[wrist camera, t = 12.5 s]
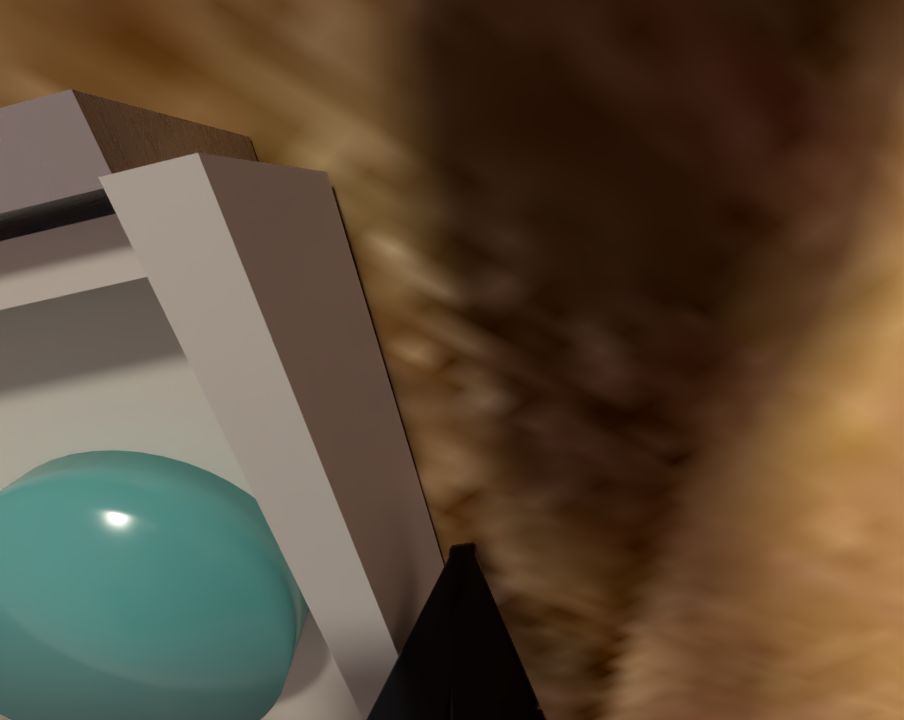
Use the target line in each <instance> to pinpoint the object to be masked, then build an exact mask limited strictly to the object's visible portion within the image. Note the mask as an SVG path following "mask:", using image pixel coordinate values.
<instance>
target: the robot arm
mask: <svg viewBox="0 0 904 720" xmlns="http://www.w3.org/2000/svg"><path fill="white" fill-rule="evenodd" d="M366 720H546V718H545V716H544V713H543V711H542V710H541V709H540V705H539V702H538V700H537V698H536V695H535V693H534V691H533V688H532V686H531V684H530V681H529V679H528V677H527V674H526V672H525V670H524V667H523V665H522V663H521V661H520V658H519V656H518V654H517V651H516V649H515V647H514V644H513V642H512V640H511V637H510V635H509V633H508V630H507V628H506V626H505V623H504V621H503V619H502V616H501V614H500V612H499V610H498V607H497V605H496V603H495V600H494V598H493V596H492V593H491V591H490V589H489V586H488V584H487V582H486V579H485V577H484V572H483V568H482V565H481V561H480V557H479V553H478V550H477V546H476V544H475V543H473V542H471V543H464V544H457V545H452V546H451V547H450V549H449V557H448V560H447V562H446V564H445V566H444V568H443V570H442V572H441V574H440V576H439V578H438V580H437V582H436V583H435V585H434V587H433V589H432V591H431V593H430V595H429V597H428V599H427V601H426V603H425V605H424V607H423V609H422V611H421V613H420V615H419V617H418V619H417V621H416V623H415V625H414V627H413V629H412V631H411V633H410V635H409V637H408V639H407V641H406V643H405V644H404V646H403V648H402V650H401V652H400V654H399V656H398V658H397V660H396V662H395V664H394V666H393V668H392V670H391V672H390V674H389V676H388V678H387V680H386V682H385V684H384V686H383V688H382V690H381V692H380V694H379V696H378V698H377V700H376V702H375V704H374V705H373V707H372V709H371V711H370V713H369V715H368V717H367V719H366Z"/></svg>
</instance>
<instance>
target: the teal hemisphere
mask: <svg viewBox="0 0 904 720" xmlns="http://www.w3.org/2000/svg"><path fill="white" fill-rule="evenodd" d="M308 612H309V607H308V605H307V603H306V601H305V599H304V597H303V594H302V592H301V590H300V588H299V586H298V584H297V582H296V580H295V578H294V576H293V574H292V572H291V570H290V568H289V566H288V564H287V562H286V560H285V558H284V556H283V554H282V552H281V550H280V547H279V545H278V543H277V541H276V539H275V537H274V535H273V533H272V531H271V529H270V527H269V525H268V523H267V521H266V519H265V517H264V515H263V513H262V511H261V509H260V507H259V505H258V503H257V500H256V499H255V498H254V497H252V496H251V495H250V494H248V493H247V492H245V491H244V490H242V489H240V488H239V487H237V486H236V485H234V484H233V483H231V482H229V481H227V480H225V479H223V478H221V477H219V476H217V475H215V474H213V473H211V472H209V471H207V470H204V469H201V468H199V467H196V466H194V465H191V464H189V463H186V462H182V461H178V460H175V459H171V458H168V457H164V456H159V455H153V454H148V453H142V452H132V451H119V450H108V451H89V452H83V453H76V454H70V455H67V456H63V457H60V458H56V459H53V460H50V461H48V462H46V463H44V464H41V465H39V466H37V467H35V468H33V469H31V470H30V471H28V472H27V473H25V474H24V475H22V476H21V477H19V478H18V479H16V480H15V481H14V482H12V483H11V484H9V485H8V486H6V487H5V488H3V489H2V490H0V714H1V715H3V716H5V717H7V718H9V719H11V720H261V719H262V718H263V717H264V716H265V715H266V714H267V713H268V712H269V711H270V710H271V709H272V707H273V706H274V705H275V703H276V702H277V700H278V698H279V697H280V695H281V693H282V690H283V687H284V684H285V682H286V679H287V676H288V672H289V669H290V666H291V663H292V660H293V657H294V654H295V651H296V648H297V645H298V642H299V639H300V636H301V633H302V630H303V627H304V624H305V621H306V618H307V615H308Z"/></svg>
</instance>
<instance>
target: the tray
mask: <svg viewBox="0 0 904 720" xmlns="http://www.w3.org/2000/svg"><path fill="white" fill-rule="evenodd" d="M98 178H99V180H100V182H101V184H102V186H103V188H104V190H105V192H106V194H107V196H108V198H109V200H110V202H111V204H112V206H113V208H114V210H115V212H116V214H112V215H108V216H104V217H100V218H96V219H91V220H87V221H83V222H79V223H75V224H71V225H66V226H62V227H58V228H54V229H50V230H45V231H41V232H37V233H33V234H29V235H25V236H20V237H16V238H12V239H8V240H4V241H0V490H2V489H3V488H5V487H6V486H8V485H9V484H11V483H12V482H14V481H15V480H16V479H18V478H19V477H21V476H22V475H24V474H25V473H27V472H28V471H30V470H31V469H33V468H35V467H37V466H39V465H41V464H44V463H46V462H48V461H50V460H53V459H56V458H60V457H63V456H67V455H70V454H76V453H83V452H89V451H108V450H119V451H132V452H142V453H148V454H153V455H159V456H164V457H168V458H171V459H175V460H178V461H182V462H186V463H189V464H191V465H194V466H196V467H199V468H201V469H204V470H207V471H209V472H211V473H213V474H215V475H217V476H219V477H221V478H223V479H225V480H227V481H229V482H231V483H233V484H234V485H236V486H237V487H239V488H240V489H242V490H244V491H245V492H247V493H248V494H250V495H251V496H252V497H254V498H255V499H256V500H257V503H258V505H259V507H260V509H261V511H262V513H263V515H264V517H265V519H266V521H267V523H268V525H269V527H270V529H271V531H272V533H273V535H274V537H275V539H276V541H277V543H278V545H279V547H280V550H281V552H282V554H283V556H284V558H285V560H286V562H287V564H288V566H289V568H290V570H291V572H292V574H293V576H294V578H295V580H296V582H297V584H298V586H299V588H300V590H301V592H302V594H303V597H304V599H305V601H306V603H307V605H308V607H309V612H308V615H307V618H306V621H305V624H304V627H303V630H302V633H301V636H300V639H299V642H298V645H297V648H296V651H295V654H294V657H293V660H292V663H291V666H290V669H289V672H288V676H287V679H286V682H285V684H284V687H283V690H282V693H281V695H280V697H279V698H278V700H277V702H276V703H275V705H274V706H273V707H272V709H271V710H270V711H269V712H268V713H267V714H266V715H265V716H264V717H263V718H262V719H261V720H366V719H367V717H368V715H369V713H370V711H371V709H372V707H373V705H374V704H375V702H376V700H377V698H378V696H379V694H380V692H381V690H382V688H383V686H384V684H385V682H386V680H387V678H388V676H389V674H390V672H391V670H392V668H393V666H394V664H395V662H396V660H397V658H398V656H399V654H400V652H401V650H402V648H403V646H404V644H405V643H406V641H407V639H408V637H409V635H410V633H411V631H412V629H413V627H414V625H415V623H416V621H417V619H418V617H419V615H420V613H421V611H422V609H423V607H424V605H425V603H426V601H427V599H428V597H429V595H430V593H431V591H432V589H433V587H434V585H435V583H436V582H437V580H438V578H439V576H440V574H441V572H442V570H443V568H444V564H443V561H442V557H441V554H440V551H439V547H438V544H437V541H436V537H435V534H434V530H433V527H432V524H431V520H430V517H429V514H428V510H427V507H426V504H425V500H424V497H423V494H422V490H421V487H420V483H419V480H418V477H417V473H416V470H415V467H414V463H413V460H412V457H411V453H410V450H409V446H408V443H407V440H406V436H405V433H404V430H403V426H402V423H401V420H400V416H399V413H398V409H397V406H396V403H395V399H394V396H393V393H392V389H391V386H390V383H389V379H388V376H387V372H386V369H385V366H384V362H383V359H382V356H381V352H380V349H379V346H378V342H377V339H376V336H375V332H374V329H373V325H372V322H371V319H370V315H369V312H368V309H367V305H366V302H365V299H364V295H363V292H362V288H361V285H360V282H359V278H358V275H357V272H356V268H355V265H354V262H353V258H352V255H351V251H350V248H349V245H348V241H347V238H346V235H345V231H344V228H343V225H342V221H341V218H340V215H339V211H338V208H337V204H336V201H335V198H334V194H333V191H332V188H331V184H330V181H329V178H328V174H327V172H323V171H317V170H310V169H303V168H297V167H290V166H283V165H277V164H270V163H263V162H256V161H250V160H243V159H236V158H230V157H223V156H216V155H210V154H203V153H195V154H191V155H187V156H183V157H178V158H174V159H170V160H166V161H162V162H158V163H154V164H150V165H146V166H142V167H138V168H134V169H130V170H126V171H122V172H118V173H114V174H110V175H106V176H101V177H98ZM0 720H11V719H9V718H7V717H5V716H3V715H1V714H0Z"/></svg>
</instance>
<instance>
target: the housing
mask: <svg viewBox="0 0 904 720" xmlns="http://www.w3.org/2000/svg"><path fill="white" fill-rule="evenodd" d="M195 153H203V154H210V155H216V156H223V157H230V158H236V159H243V160H250V161H256V162H258V161H257V158H256V155H255V152H254V149H253V146H252V144H251V141H250V138H249V137H248V136H244V135H240V134H237V133H233V132H229V131H225V130H222V129H218V128H214V127H210V126H207V125H203V124H199V123H196V122H192V121H188V120H184V119H181V118H177V117H173V116H169V115H166V114H162V113H158V112H154V111H151V110H147V109H143V108H140V107H136V106H132V105H128V104H125V103H121V102H117V101H113V100H110V99H106V98H102V97H98V96H95V95H91V94H87V93H84V92H80V91H76V90H72V89H70V90H67V91H63V92H59V93H55V94H51V95H48V96H44V97H40V98H36V99H33V100H29V101H25V102H21V103H17V104H14V105H10V106H6V107H2V108H0V241H4V240H8V239H12V238H16V237H20V236H25V235H29V234H33V233H37V232H41V231H45V230H50V229H54V228H58V227H62V226H66V225H71V224H75V223H79V222H83V221H87V220H91V219H96V218H100V217H104V216H108V215H112V214H116V212H115V210H114V208H113V206H112V204H111V202H110V200H109V198H108V196H107V194H106V192H105V190H104V188H103V186H102V184H101V182H100V180H99V178H98V177H101V176H106V175H110V174H114V173H118V172H122V171H126V170H130V169H134V168H138V167H142V166H146V165H150V164H154V163H158V162H162V161H166V160H170V159H174V158H178V157H183V156H187V155H191V154H195Z"/></svg>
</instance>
